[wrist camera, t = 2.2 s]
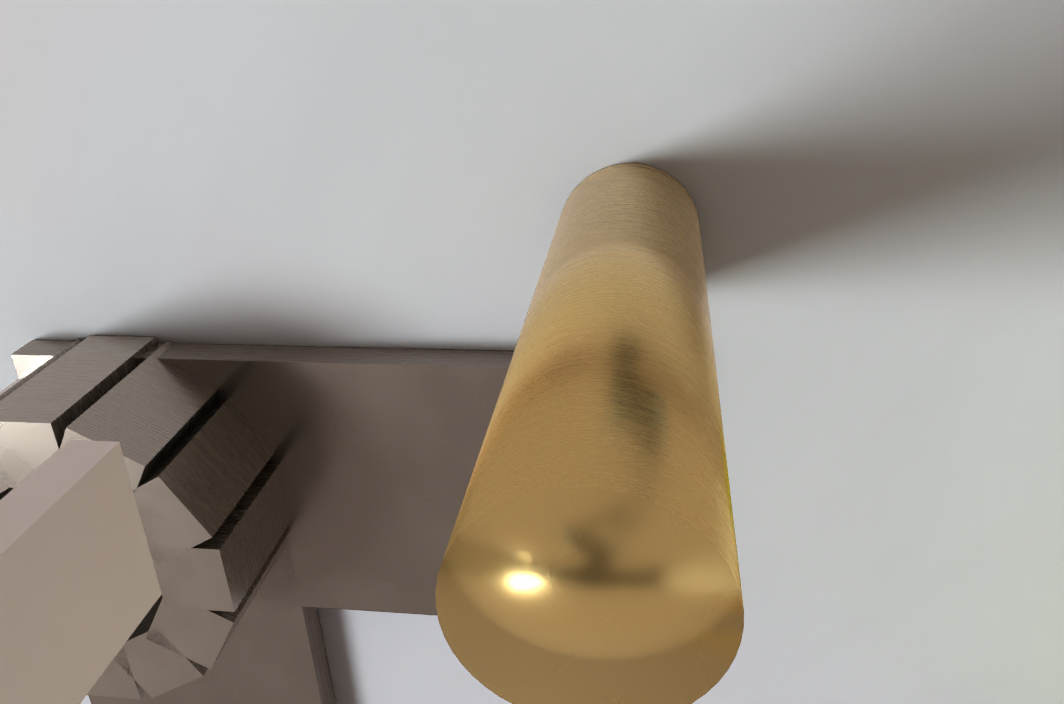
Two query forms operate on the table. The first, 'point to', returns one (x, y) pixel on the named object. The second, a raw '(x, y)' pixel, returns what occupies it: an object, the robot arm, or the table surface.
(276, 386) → the hinge
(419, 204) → the table surface
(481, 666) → the pin
